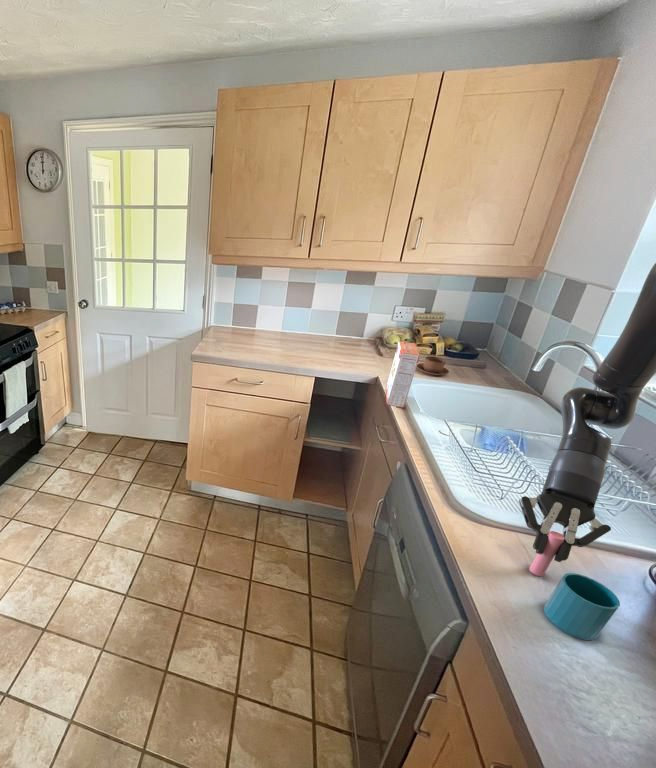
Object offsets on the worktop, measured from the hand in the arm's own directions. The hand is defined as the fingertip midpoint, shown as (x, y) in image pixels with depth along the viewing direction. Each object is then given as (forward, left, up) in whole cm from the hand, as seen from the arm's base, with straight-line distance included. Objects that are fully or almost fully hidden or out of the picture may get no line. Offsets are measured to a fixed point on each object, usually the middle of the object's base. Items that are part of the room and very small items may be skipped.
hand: (548, 556), depth 81 cm
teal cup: (-3, +9, -6) cm, 11 cm away
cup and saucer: (+6, -118, -6) cm, 118 cm away
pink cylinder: (-1, -2, -6) cm, 6 cm away
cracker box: (+22, -79, -6) cm, 82 cm away
